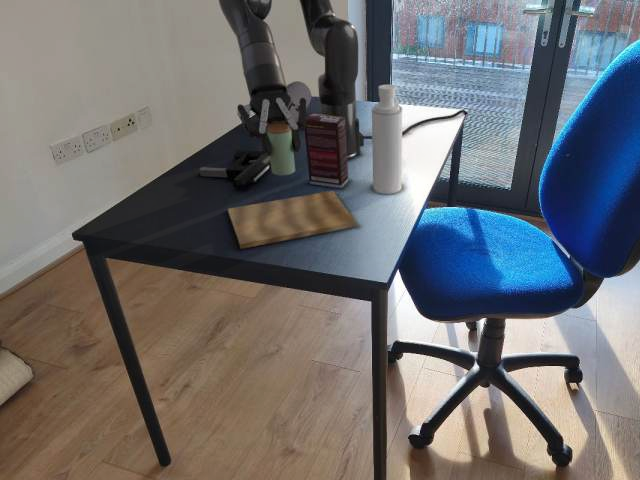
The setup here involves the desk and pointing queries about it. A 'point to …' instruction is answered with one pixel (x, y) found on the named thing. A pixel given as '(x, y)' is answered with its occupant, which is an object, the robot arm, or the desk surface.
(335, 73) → the robot arm
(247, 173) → the door handle
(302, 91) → the bluetooth speaker
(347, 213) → the oak board
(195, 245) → the desk surface
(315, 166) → the supplement box
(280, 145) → the salt pot
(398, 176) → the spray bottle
